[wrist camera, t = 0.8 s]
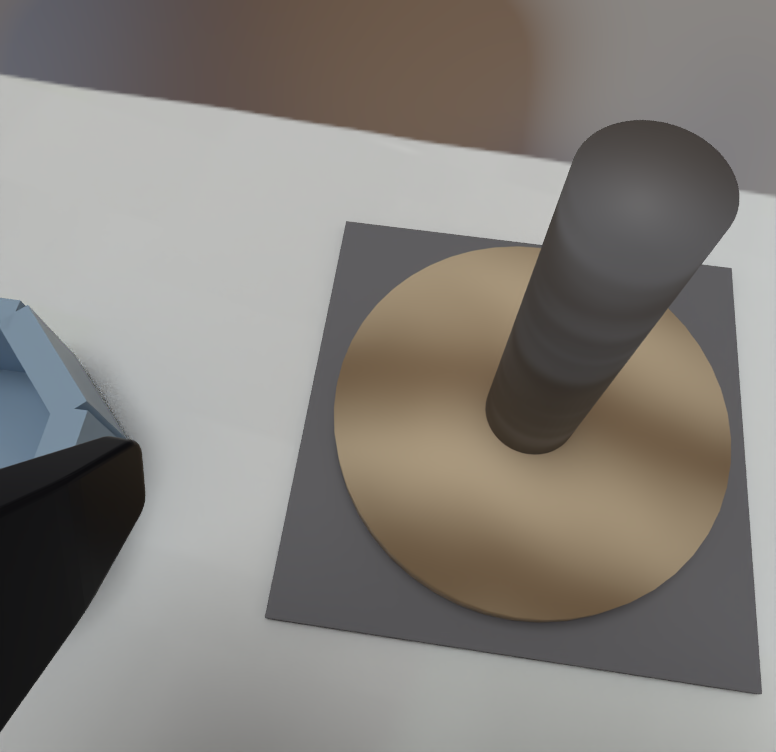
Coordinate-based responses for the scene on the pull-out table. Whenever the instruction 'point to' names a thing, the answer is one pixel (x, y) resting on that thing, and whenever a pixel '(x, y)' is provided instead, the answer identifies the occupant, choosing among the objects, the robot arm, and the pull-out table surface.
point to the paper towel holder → (550, 395)
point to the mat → (488, 633)
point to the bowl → (43, 391)
